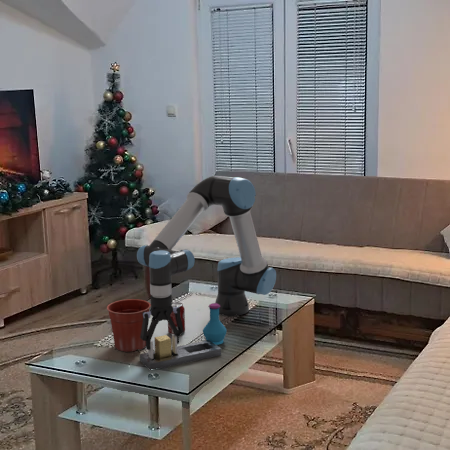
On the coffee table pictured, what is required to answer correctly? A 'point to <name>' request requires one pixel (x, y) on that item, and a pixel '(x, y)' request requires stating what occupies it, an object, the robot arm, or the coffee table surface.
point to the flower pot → (128, 323)
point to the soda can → (182, 314)
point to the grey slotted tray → (183, 355)
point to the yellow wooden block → (162, 347)
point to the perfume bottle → (214, 326)
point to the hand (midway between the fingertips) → (163, 354)
